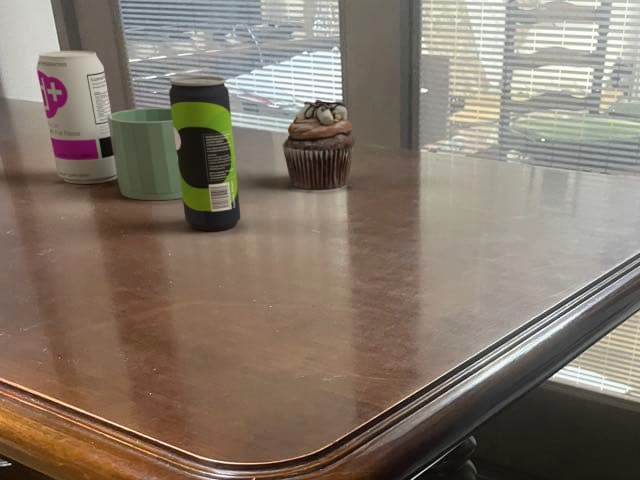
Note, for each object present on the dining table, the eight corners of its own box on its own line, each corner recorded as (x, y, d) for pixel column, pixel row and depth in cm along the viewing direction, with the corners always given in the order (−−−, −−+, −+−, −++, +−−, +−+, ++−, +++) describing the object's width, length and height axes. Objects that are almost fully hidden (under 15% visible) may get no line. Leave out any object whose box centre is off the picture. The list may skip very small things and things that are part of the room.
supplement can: (76, 188, 115) (50, 58, 107) (49, 177, 120) (23, 53, 112) (132, 178, 120) (112, 54, 111) (104, 168, 125) (83, 48, 116)
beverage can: (246, 219, 103) (234, 76, 95) (233, 233, 98) (218, 84, 90) (195, 217, 104) (178, 75, 95) (179, 231, 99) (159, 82, 90)
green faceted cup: (102, 195, 112) (89, 118, 107) (152, 178, 120) (141, 105, 115) (174, 203, 109) (164, 124, 104) (220, 185, 117) (212, 111, 112)
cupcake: (301, 172, 124) (296, 93, 118) (365, 177, 121) (364, 97, 116) (272, 187, 116) (266, 104, 111) (340, 193, 114) (337, 108, 108)
